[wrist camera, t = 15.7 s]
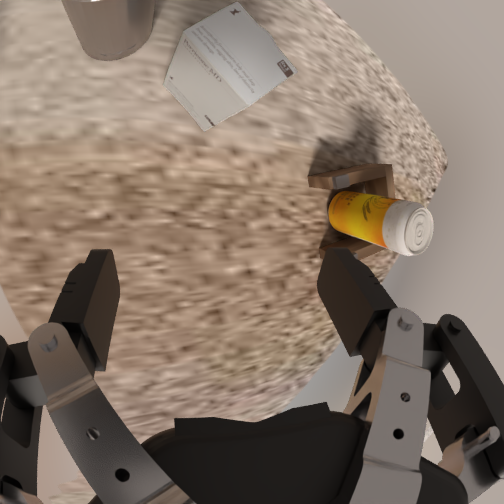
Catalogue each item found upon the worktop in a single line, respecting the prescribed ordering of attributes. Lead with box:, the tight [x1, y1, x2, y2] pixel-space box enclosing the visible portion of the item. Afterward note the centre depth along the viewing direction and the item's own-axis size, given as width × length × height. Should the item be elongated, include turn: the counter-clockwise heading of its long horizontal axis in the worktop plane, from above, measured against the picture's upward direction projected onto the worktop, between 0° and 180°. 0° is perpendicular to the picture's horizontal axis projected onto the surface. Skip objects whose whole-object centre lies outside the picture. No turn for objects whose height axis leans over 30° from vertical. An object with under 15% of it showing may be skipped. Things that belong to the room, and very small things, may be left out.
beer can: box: [328, 191, 434, 256], centre depth 34 cm, size 6×6×15 cm
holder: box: [308, 164, 395, 260], centre depth 39 cm, size 12×12×6 cm
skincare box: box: [163, 2, 298, 131], centre depth 24 cm, size 8×6×15 cm
